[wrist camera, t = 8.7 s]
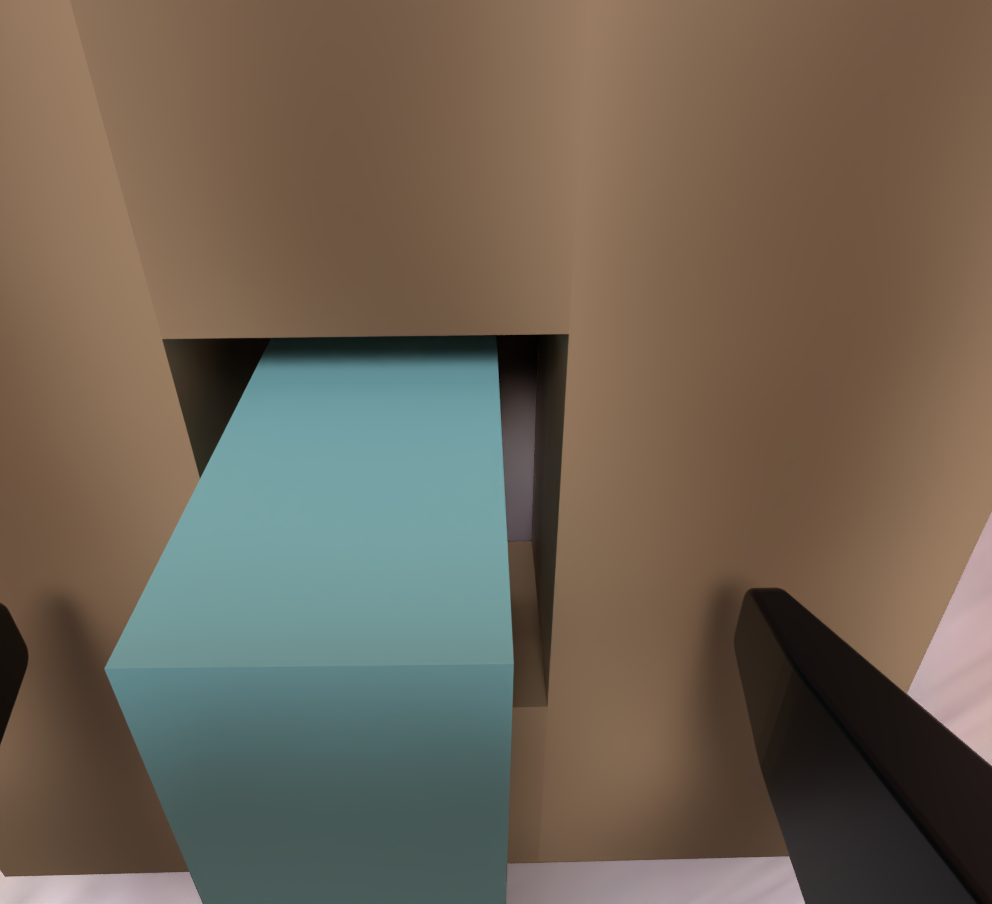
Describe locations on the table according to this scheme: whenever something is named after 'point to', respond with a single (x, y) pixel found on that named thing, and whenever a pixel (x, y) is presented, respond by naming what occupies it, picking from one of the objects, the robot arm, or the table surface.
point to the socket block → (506, 311)
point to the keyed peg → (337, 634)
